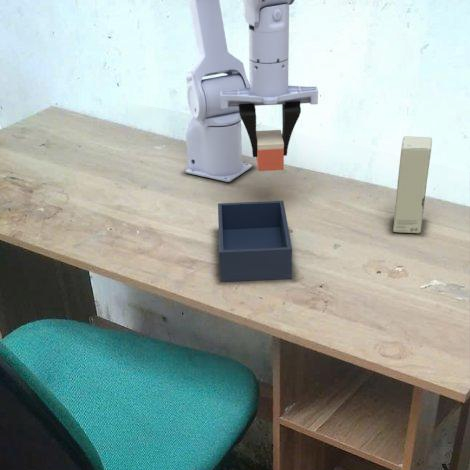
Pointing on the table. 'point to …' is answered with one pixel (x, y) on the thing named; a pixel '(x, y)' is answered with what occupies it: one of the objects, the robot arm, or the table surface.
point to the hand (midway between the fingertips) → (269, 154)
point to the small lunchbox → (270, 150)
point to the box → (412, 184)
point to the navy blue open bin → (254, 241)
